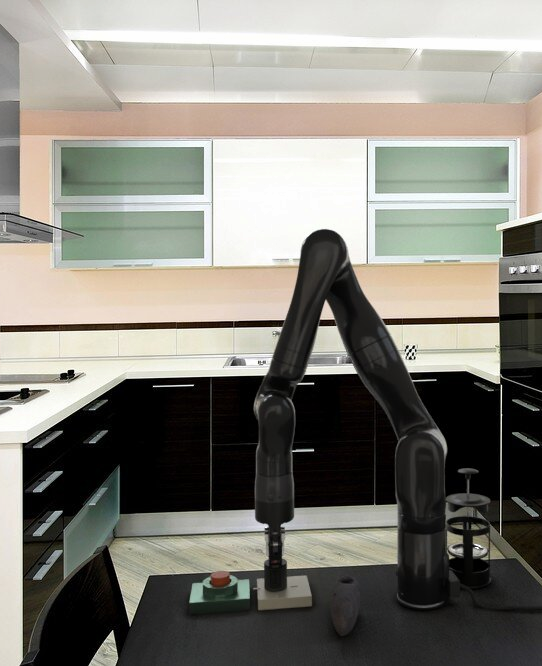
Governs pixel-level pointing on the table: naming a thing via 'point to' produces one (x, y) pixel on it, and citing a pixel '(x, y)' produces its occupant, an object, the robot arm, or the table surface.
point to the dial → (283, 576)
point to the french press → (469, 539)
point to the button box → (219, 596)
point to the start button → (220, 578)
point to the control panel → (285, 594)
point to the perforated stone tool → (345, 602)
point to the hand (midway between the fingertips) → (275, 581)
